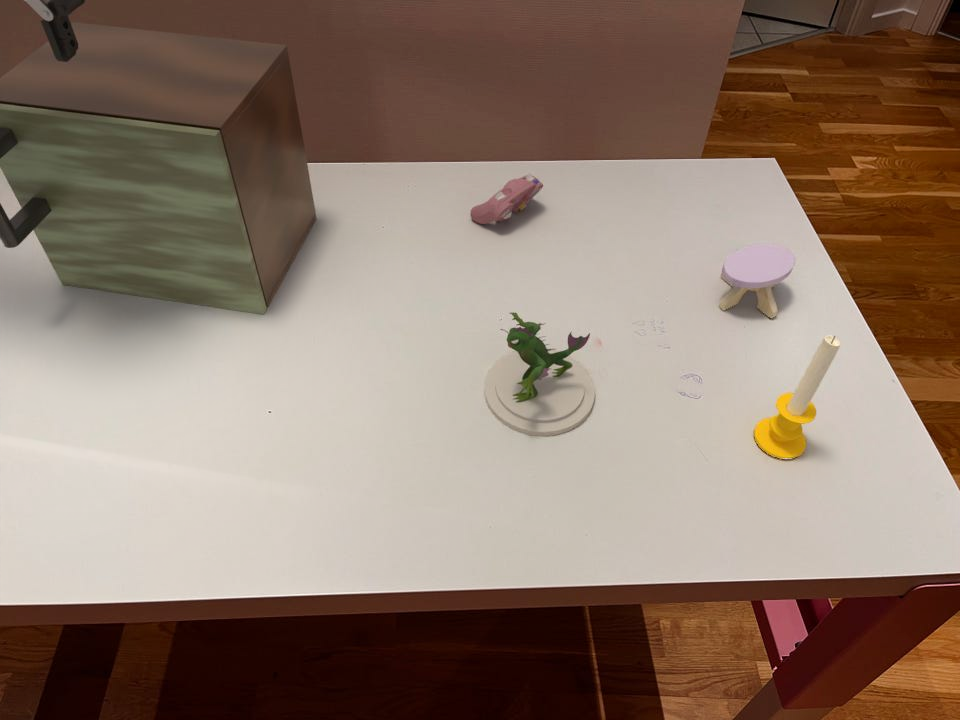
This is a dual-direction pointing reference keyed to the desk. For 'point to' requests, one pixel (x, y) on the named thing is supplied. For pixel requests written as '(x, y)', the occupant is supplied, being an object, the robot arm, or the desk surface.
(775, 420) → the candle
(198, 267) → the cupboard door
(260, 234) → the cupboard
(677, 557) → the desk surface
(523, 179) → the pink toy car
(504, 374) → the monster figurine
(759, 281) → the toy table
